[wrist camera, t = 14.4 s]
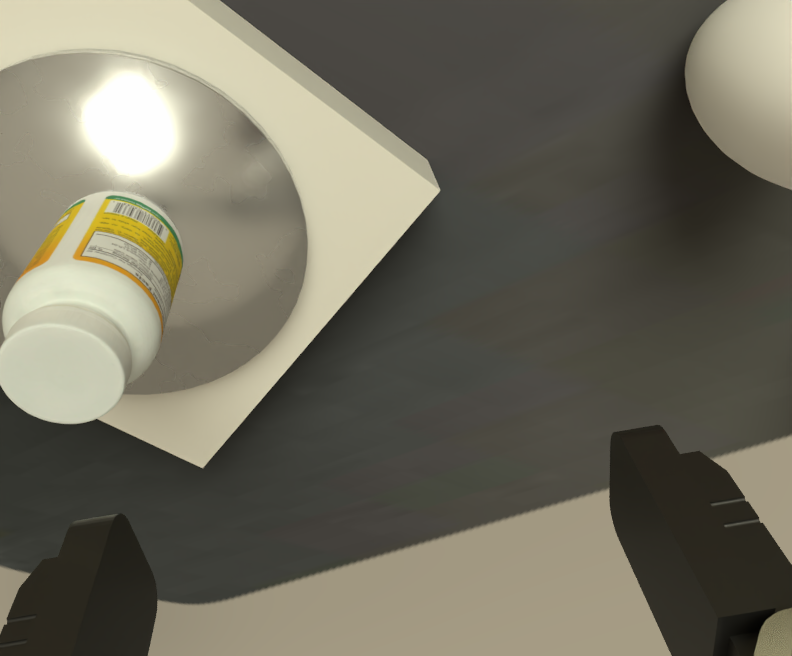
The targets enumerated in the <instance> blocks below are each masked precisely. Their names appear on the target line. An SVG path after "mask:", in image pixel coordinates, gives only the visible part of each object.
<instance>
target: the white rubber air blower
mask: <svg viewBox="0 0 792 656" xmlns="http://www.w3.org/2000/svg"><path fill="white" fill-rule="evenodd" d="M685 82H686V91H687V94H688V98H689V101H690V104H691V107H692V110H693V112H694V114H695V116H696V118H697V120H698V121H699V123H700V125H701V127H702V128H703V130H704V131H705V133H706V134H707V135H708V136H709V137H710V139H711V140H712V141H713V142H714V143H715V144H716V145H717V147H718V148H719V149H720V150H721V151H722V152H723V153H725V154H726V155H727V156H728V157H730V158H731V159H732V160H734V161H735V162H736V163H738V164H739V165H741V166H742V167H743V168H745V169H746V170H748V171H749V172H751V173H753V174H755V175H756V176H758V177H761V178H763V179H765V180H767V181H770V182H772V183H775V184H777V185H780V186H782V187H785V188H788V189H790V190H792V0H727V1H726V2H724V3H723V4H722V5H720V6H719V7H718V8H717V9H716V10H715V11H714V12H713V13H712V14H711V15H710V16H709V17H708V18H707V19H706V21H705V22H704V23H703V24H702V26H701V27H700V28H699V30H698V31H697V33H696V35H695V37H694V38H693V40H692V42H691V45H690V48H689V51H688V54H687V57H686V65H685Z"/></svg>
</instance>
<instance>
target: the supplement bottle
mask: <svg viewBox="0 0 792 656" xmlns="http://www.w3.org/2000/svg"><path fill="white" fill-rule="evenodd" d="M183 262H184V249H183V244H182V240H181V237H180V235H179V232H178V230H177V228H176V227H175V225H174V224H173V222H172V221H171V220H170V219H169V217H168V216H167V215H166V214H165V213H164V212H163V211H162V210H160V209H159V208H158V207H157V206H155V205H154V204H152V203H151V202H149V201H147V200H145V199H143V198H141V197H138V196H135V195H132V194H129V193H123V192H99V193H95V194H91V195H88V196H86V197H83V198H81V199H79V200H78V201H76V202H75V203H73V204H72V205H71V206H70V207H69V208H68V209H67V210H66V211H65V212H64V213H63V215H62V216H61V217H60V219H59V220H58V221H57V223H56V224H55V226H54V228H53V229H52V230H51V232H50V233H49V235H48V236H47V238H46V239H45V241H44V242H43V244H42V245H41V247H40V248H39V249H38V251H37V252H36V254H35V255H34V257H33V258H32V260H31V261H30V263H29V264H28V266H27V267H26V269H25V270H24V272H23V273H22V275H21V276H20V277H19V279H18V280H17V282H16V283H15V285H14V286H13V288H12V290H11V291H10V293H9V295H8V297H7V299H6V301H5V305H4V309H3V315H2V326H3V333H4V337H5V340H4V342H3V344H2V346H1V348H0V385H1V387H2V389H3V390H4V392H5V393H6V395H7V396H8V397H9V398H10V400H12V401H13V402H14V403H15V404H16V405H17V406H18V407H20V408H21V409H22V410H24V411H25V412H27V413H28V414H30V415H33V416H35V417H37V418H40V419H42V420H46V421H50V422H54V423H61V424H78V423H85V422H88V421H92V420H95V419H97V418H100V417H102V416H103V415H105V414H107V413H108V412H109V411H110V410H112V409H113V408H114V407H115V406H116V404H117V403H118V402H119V401H120V399H121V397H122V395H123V393H124V391H125V388H126V385H128V384H129V383H131V382H133V381H134V380H136V379H137V378H138V377H140V376H141V375H142V374H143V373H144V372H145V371H146V370H147V369H148V368H149V366H150V365H151V363H152V362H153V360H154V358H155V356H156V354H157V352H158V349H159V347H160V343H161V340H162V337H163V333H164V330H165V326H166V323H167V319H168V316H169V312H170V309H171V305H172V302H173V298H174V295H175V291H176V288H177V285H178V282H179V278H180V275H181V271H182V267H183Z"/></svg>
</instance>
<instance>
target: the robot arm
mask: <svg viewBox="0 0 792 656" xmlns="http://www.w3.org/2000/svg"><path fill="white" fill-rule="evenodd" d="M609 497H610V510H611V515H612V520H613V524H614V527H615V530H616V533H617V536H618V538H619V541H620V543H621V545H622V547H623V549H624V552H625V554H626V556H627V558H628V560H629V562H630V565H631V567H632V569H633V572H634V574H635V576H636V578H637V580H638V583H639V584H640V587H641V589H642V591H643V594H644V596H645V598H646V600H647V602H648V604H649V607H650V609H651V611H652V613H653V615H654V618H655V620H656V622H657V624H658V627H659V629H660V631H661V633H662V635H663V638H664V640H665V642H666V644H667V646H668V648H669V651H670V652H671V655H672V656H792V565H791V563H790V562H789V561H788V559H787V558H786V556H785V555H784V553H783V552H782V550H781V549H780V547H779V546H778V545H777V543H776V542H775V540H774V539H773V537H772V536H771V534H770V533H769V531H768V530H767V528H766V527H765V526H764V524H763V523H760V521H759V517H758V515H757V514H756V513H755V511H754V509H753V508H752V507H751V505H750V504H749V502H746V501H745V496H744V495H743V494H742V492H741V491H740V489H739V488H738V486H737V485H736V483H735V482H734V480H733V479H732V477H731V476H730V474H729V473H728V472H727V471H726V470H725V469H723V468H722V467H721V466H719V465H718V464H717V463H715V462H714V461H712V460H711V459H710V458H708V457H707V456H705V455H704V454H703V453H701V452H700V451H696V452H691V453H685V454H679V452H678V451H677V449H676V448H675V446H674V444H673V443H672V441H671V440H670V438H669V436H668V435H667V433H666V432H665V430H664V429H663V428H662V427H661V426H660V425H655V426H649V427H643V428H637V429H631V430H625V431H619V432H614V433H613V434H612V436H611V445H610V496H609ZM156 613H157V589H156V583H155V579H154V576H153V573H152V571H151V569H150V566H149V564H148V562H147V560H146V558H145V556H144V553H143V551H142V549H141V547H140V545H139V542H138V540H137V538H136V536H135V534H134V532H133V529H132V527H131V525H130V523H129V521H128V519H127V518H126V516H125V515H123V514H114V515H108V516H102V517H96V518H90V519H84V520H78V521H75V522H73V523H72V524H71V525H70V527H69V529H68V531H67V534H66V537H65V539H64V542H63V545H62V547H61V550H60V553H59V555H58V557H55V558H49V559H44V560H42V561H41V563H40V564H39V565H38V566H37V567H36V569H35V570H34V571H33V572H32V573H31V575H30V576H29V577H28V578H27V579H26V581H25V582H24V583H23V584H22V585H21V587H20V588H19V590H18V593H17V595H16V597H15V600H14V602H13V605H12V607H11V610H10V612H9V615H8V617H7V625H4V627H3V629H2V632H1V634H0V656H148V651H149V646H150V641H151V637H152V632H153V627H154V622H155V618H156Z"/></svg>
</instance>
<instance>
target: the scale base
mask: <svg viewBox="0 0 792 656" xmlns="http://www.w3.org/2000/svg"><path fill="white" fill-rule="evenodd" d="M86 48H94V49H108V50H120V51H125V52H130V53H135V54H140V55H145V56H149V57H152V58H155V59H158V60H161V61H164V62H167V63H170V64H173V65H176V66H178V67H180V68H182V69H184V70H186V71H188V72H191V73H193V74H195V75H197V76H199V77H201V78H202V79H204V80H206V81H207V82H209V83H210V84H212V85H214V86H215V87H217V88H218V89H220V90H222V91H223V92H225V93H226V94H227V95H228V96H230V97H231V98H232V99H233V100H235V101H236V102H237V103H238V104H240V105H241V106H242V107H243V108H244V109H246V110H247V111H248V113H249V114H250V115H251V116H252V117H253V118H254V119H255V120H256V121H257V122H258V123H259V124H260V125H261V126H262V127H263V128H264V129H265V131H266V132H267V133H268V135H269V136H270V137H271V139H272V140H273V141H274V143H275V144H276V145H277V147H278V148H279V150H280V151H281V153H282V155H283V157H284V158H285V160H286V162H287V164H288V165H289V167H290V169H291V171H292V174H293V176H294V178H295V181H296V183H297V186H298V188H299V191H300V194H301V198H302V202H303V206H304V210H305V215H306V225H307V234H308V250H307V266H306V271H305V277H304V282H303V286H302V289H301V291H300V294H299V297H298V300H297V303H296V305H295V307H294V309H293V311H292V313H291V314H290V316H289V318H288V320H287V322H286V323H285V324H284V326H283V327H282V329H281V330H280V331H279V333H278V334H277V335H276V337H275V338H274V339H273V340H272V341H271V342H270V343H269V344H268V345H267V346H266V347H265V348H264V349H263V350H262V351H261V352H260V353H259V354H257V355H256V356H255V357H254V358H252V359H251V360H250V361H249V362H247V363H246V364H244V365H243V366H241V367H239V368H238V369H236V370H234V371H233V372H231V373H229V374H227V375H225V376H223V377H221V378H218V379H216V380H214V381H212V382H209V383H206V384H203V385H200V386H197V387H194V388H190V389H185V390H180V391H175V392H171V393H161V394H150V395H125V394H123V395H122V397H121V399H120V401H119V402H118V403H117V404H116V406H115V407H114V408H113V409H112V410H110V411H109V412H108V413H107V414H105V415H103V416H102V417H100V418H97V419H98V420H101V421H103V422H105V423H107V424H109V425H111V426H113V427H116V428H118V429H120V430H122V431H124V432H126V433H128V434H130V435H133V436H135V437H137V438H139V439H141V440H143V441H145V442H148V443H150V444H152V445H154V446H156V447H158V448H160V449H162V450H165V451H167V452H169V453H171V454H173V455H175V456H177V457H179V458H182V459H184V460H186V461H188V462H190V463H192V464H194V465H197V466H199V467H201V468H203V467H204V466H205V465H206V464H207V463H208V461H209V460H210V459H211V458H212V457H213V456H214V454H215V453H216V452H217V451H218V450H219V449H220V447H221V446H222V445H223V444H224V443H225V442H226V440H227V439H228V438H229V437H230V436H231V435H232V433H233V432H234V431H235V430H236V429H237V428H238V426H239V425H240V424H241V423H242V422H243V421H244V419H245V418H246V417H247V416H248V415H249V414H250V412H251V411H252V410H253V409H254V408H255V407H256V405H257V404H258V403H259V402H260V401H261V399H262V398H263V397H264V396H265V395H266V394H267V392H268V391H269V390H270V389H271V388H272V387H273V385H274V384H275V383H276V382H277V381H278V380H279V378H280V377H281V376H282V375H283V374H284V373H285V371H286V370H287V369H288V368H289V367H290V366H291V364H292V363H293V362H294V361H295V360H296V359H297V357H298V356H299V355H300V354H301V353H302V352H303V350H304V349H305V348H306V347H307V346H308V345H309V343H310V342H311V341H312V340H313V339H314V338H315V336H316V335H317V334H318V333H319V332H320V331H321V329H322V328H323V327H324V326H325V325H326V324H327V322H328V321H329V320H330V319H331V318H332V317H333V315H334V314H335V313H336V312H337V311H338V310H339V308H340V307H341V306H342V305H343V304H344V303H345V301H346V300H347V299H348V298H349V297H350V296H351V294H352V293H353V292H354V291H355V290H356V289H357V287H358V286H359V285H360V284H361V283H362V282H363V280H364V279H365V278H366V277H367V276H368V275H369V273H370V272H371V271H372V270H373V269H374V268H375V266H376V265H377V264H378V263H379V262H380V261H381V259H382V258H383V257H384V256H385V255H386V254H387V252H388V251H389V250H390V249H391V248H392V247H393V245H394V244H395V243H396V242H397V241H398V240H399V238H400V237H401V236H402V235H403V234H404V233H405V231H406V230H407V229H408V228H409V227H410V226H411V224H412V223H413V222H414V221H415V220H416V219H417V217H418V216H419V215H420V214H421V213H422V211H423V210H424V209H425V208H426V207H427V206H428V204H429V203H430V202H431V201H432V200H433V199H434V197H435V196H436V195H437V194H438V193H439V192H440V188H439V186H438V184H437V181H436V179H435V177H434V174H433V172H432V170H431V167H430V165H429V163H428V160H427V159H425V158H424V157H423V156H422V155H420V154H419V153H418V152H416V151H415V150H414V149H412V148H411V147H410V146H409V145H407V144H406V143H405V142H403V141H402V140H401V139H399V138H398V137H397V136H396V135H394V134H393V133H392V132H390V131H389V130H388V129H386V128H385V127H384V126H383V125H381V124H380V123H379V122H377V121H376V120H375V119H373V118H372V117H371V116H370V115H368V114H367V113H366V112H364V111H363V110H362V109H360V108H359V107H358V106H357V105H355V104H354V103H353V102H351V101H350V100H349V99H347V98H346V97H345V96H343V95H342V94H341V93H340V92H338V91H337V90H336V89H334V88H333V87H332V86H330V85H329V84H328V83H327V82H325V81H324V80H323V79H321V78H320V77H319V76H317V75H316V74H315V73H314V72H312V71H311V70H310V69H308V68H307V67H306V66H304V65H303V64H302V63H301V62H299V61H298V60H297V59H295V58H294V57H293V56H291V55H290V54H289V53H288V52H286V51H285V50H284V49H282V48H281V47H280V46H278V45H277V44H276V43H275V42H273V41H272V40H271V39H269V38H268V37H267V36H265V35H264V34H263V33H262V32H260V31H259V30H258V29H256V28H255V27H254V26H252V25H251V24H250V23H249V22H247V21H246V20H245V19H243V18H242V17H241V16H239V15H238V14H237V13H235V12H234V11H233V10H232V9H230V8H229V7H228V6H226V5H225V4H224V3H222V2H221V1H220V0H0V70H1V69H3V68H5V67H6V66H8V65H10V64H13V63H16V62H18V61H21V60H24V59H27V58H29V57H32V56H35V55H40V54H45V53H50V52H55V51H59V50H69V49H86Z"/></svg>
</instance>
